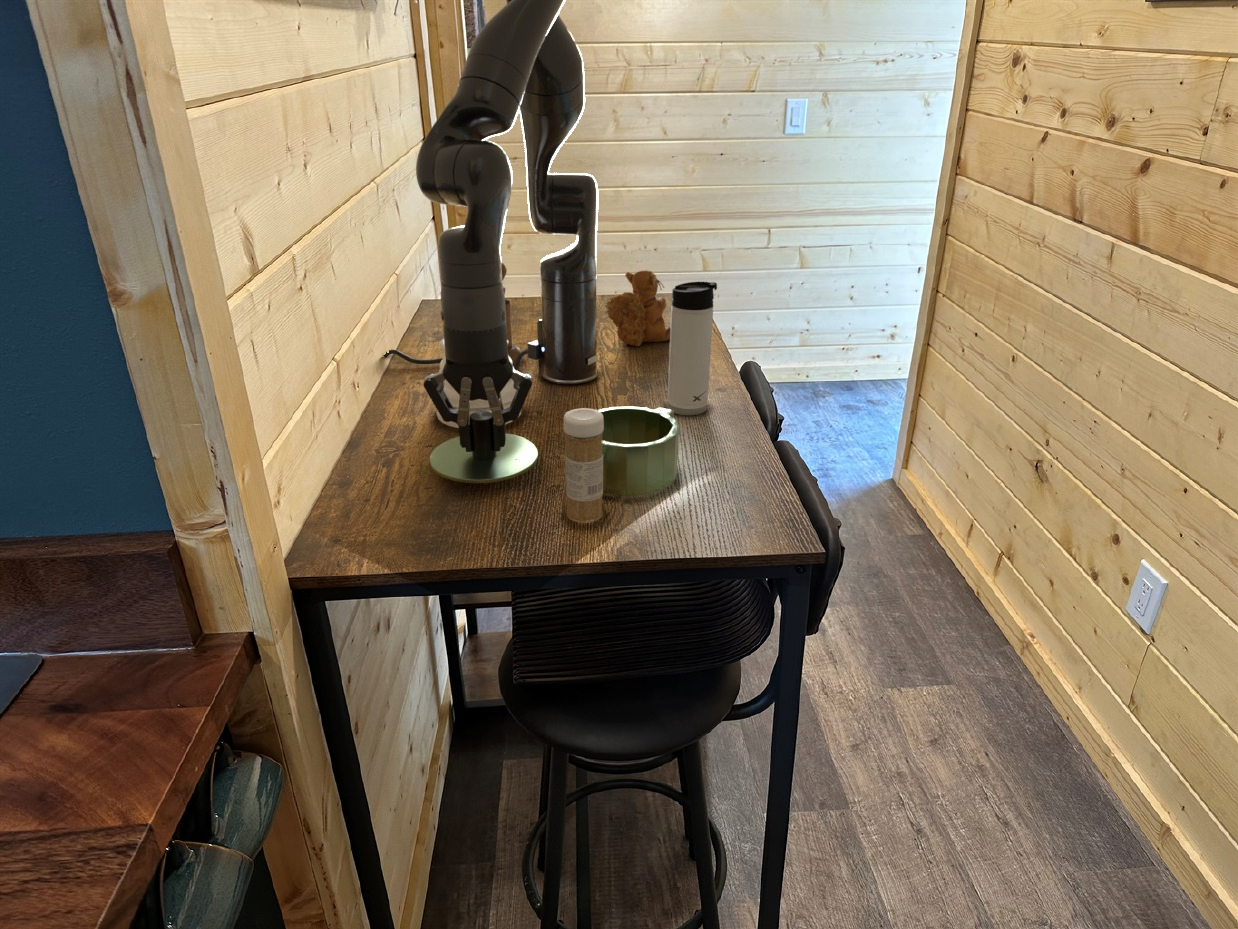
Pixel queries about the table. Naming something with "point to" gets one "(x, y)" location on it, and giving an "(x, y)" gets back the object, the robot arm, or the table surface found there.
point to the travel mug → (690, 347)
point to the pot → (638, 450)
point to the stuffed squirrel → (639, 311)
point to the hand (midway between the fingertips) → (483, 448)
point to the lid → (483, 455)
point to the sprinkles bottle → (584, 464)
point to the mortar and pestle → (509, 324)
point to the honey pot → (478, 404)
